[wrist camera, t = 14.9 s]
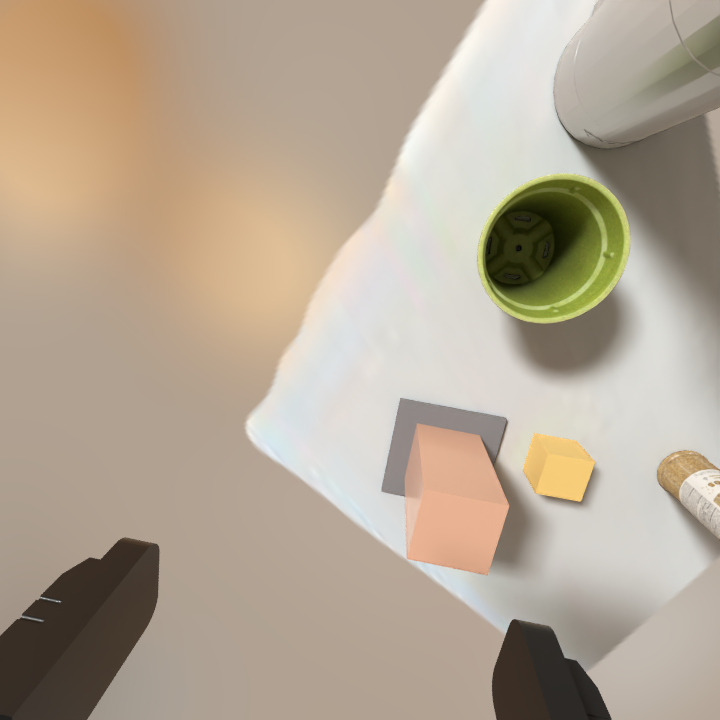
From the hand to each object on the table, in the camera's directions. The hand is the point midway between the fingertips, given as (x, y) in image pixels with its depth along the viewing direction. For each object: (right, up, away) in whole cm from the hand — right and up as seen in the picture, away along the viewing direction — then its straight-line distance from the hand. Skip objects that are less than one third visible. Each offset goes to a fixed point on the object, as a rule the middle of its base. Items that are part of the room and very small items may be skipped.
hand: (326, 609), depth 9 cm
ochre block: (+19, -4, +31) cm, 36 cm away
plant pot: (+14, +15, +26) cm, 33 cm away
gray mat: (+9, -4, +32) cm, 33 cm away
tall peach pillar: (+9, -4, +31) cm, 33 cm away
